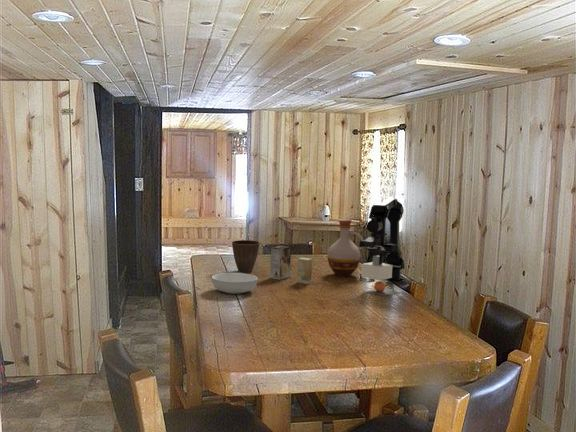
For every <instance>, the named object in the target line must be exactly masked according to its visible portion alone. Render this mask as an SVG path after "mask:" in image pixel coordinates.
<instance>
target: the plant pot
mask: <svg viewBox="0 0 576 432" xmlns="http://www.w3.org/2000/svg"><path fill="white" fill-rule="evenodd" d="M231 245H232V246H231V247H232V253H233V258H234V262H235V266H236V269H237V272H238V273H245V274H249V273H251V272H253V270H254V267H255V264H256V262H257V257H258V254H259V250H260V242H259V241H257V240H247V239H246V240H245V239H240V240H239V239H237V240H233V241H231Z"/></svg>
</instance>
